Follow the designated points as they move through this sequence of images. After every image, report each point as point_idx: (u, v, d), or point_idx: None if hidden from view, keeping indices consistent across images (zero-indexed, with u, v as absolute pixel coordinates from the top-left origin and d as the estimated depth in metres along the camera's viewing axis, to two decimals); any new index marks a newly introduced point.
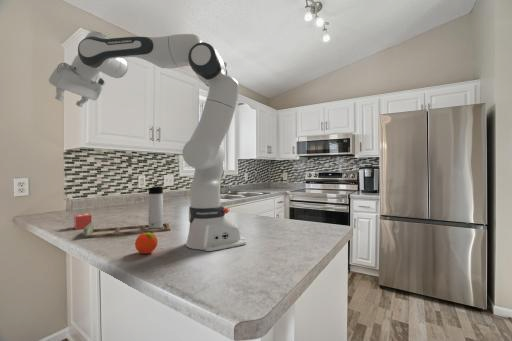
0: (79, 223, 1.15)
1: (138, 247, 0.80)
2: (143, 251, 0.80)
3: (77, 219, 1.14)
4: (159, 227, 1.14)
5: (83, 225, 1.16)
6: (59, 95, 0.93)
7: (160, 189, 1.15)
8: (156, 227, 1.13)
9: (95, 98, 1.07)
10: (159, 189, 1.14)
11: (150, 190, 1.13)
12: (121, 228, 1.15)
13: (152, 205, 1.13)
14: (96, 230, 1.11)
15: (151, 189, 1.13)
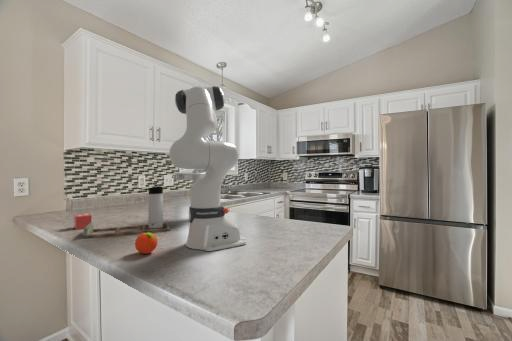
0: (79, 223, 1.15)
1: (138, 247, 0.80)
2: (143, 251, 0.80)
3: (77, 219, 1.14)
4: (159, 227, 1.14)
5: (83, 225, 1.16)
6: None
7: (160, 189, 1.15)
8: (156, 227, 1.13)
9: (198, 173, 1.25)
10: (159, 189, 1.14)
11: (150, 190, 1.13)
12: (121, 228, 1.15)
13: (152, 205, 1.13)
14: (96, 230, 1.11)
15: (151, 189, 1.13)
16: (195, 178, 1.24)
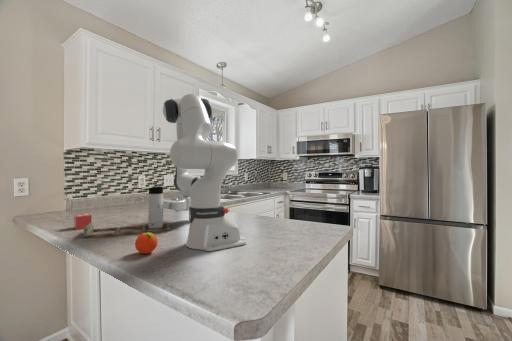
0: (79, 223, 1.15)
1: (138, 247, 0.80)
2: (143, 251, 0.80)
3: (77, 219, 1.14)
4: (159, 227, 1.14)
5: (83, 225, 1.16)
6: None
7: (160, 189, 1.15)
8: (156, 227, 1.13)
9: (176, 201, 1.15)
10: (159, 189, 1.14)
11: (150, 190, 1.13)
12: (121, 228, 1.15)
13: (152, 205, 1.13)
14: (96, 230, 1.11)
15: (151, 189, 1.13)
16: (172, 207, 1.14)
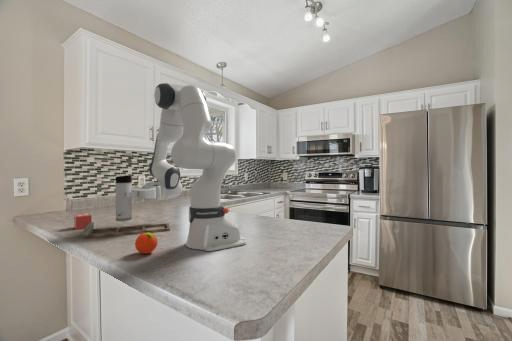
0: (79, 223, 1.15)
1: (138, 247, 0.80)
2: (143, 251, 0.80)
3: (77, 219, 1.14)
4: (127, 218, 1.09)
5: (83, 225, 1.16)
6: None
7: (127, 178, 1.10)
8: (123, 218, 1.08)
9: (143, 190, 1.09)
10: (126, 178, 1.09)
11: (117, 179, 1.08)
12: (121, 228, 1.15)
13: (119, 194, 1.08)
14: (96, 230, 1.11)
15: (118, 178, 1.08)
16: (140, 195, 1.09)
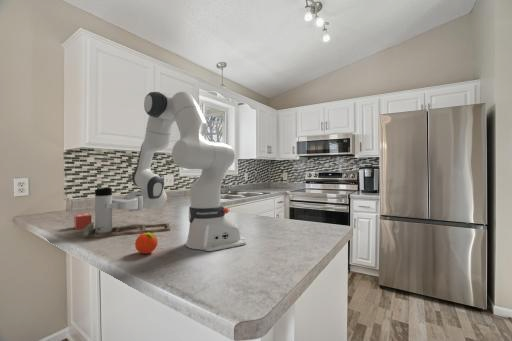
0: (79, 223, 1.15)
1: (138, 247, 0.80)
2: (143, 251, 0.80)
3: (77, 219, 1.14)
4: (106, 231, 1.06)
5: (83, 225, 1.16)
6: None
7: (108, 191, 1.06)
8: (103, 232, 1.05)
9: (124, 201, 1.06)
10: (106, 191, 1.06)
11: (96, 192, 1.05)
12: (121, 228, 1.15)
13: (98, 208, 1.05)
14: None
15: (97, 191, 1.05)
16: (120, 207, 1.06)
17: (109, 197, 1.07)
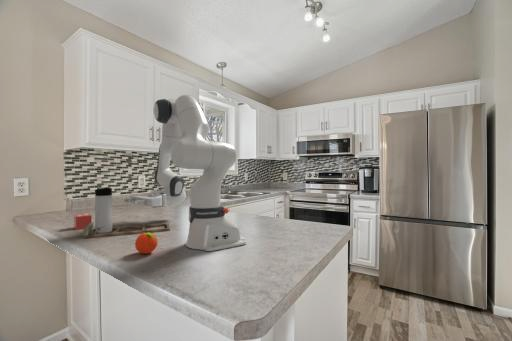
0: (79, 223, 1.15)
1: (138, 247, 0.80)
2: (143, 251, 0.80)
3: (77, 219, 1.14)
4: (106, 231, 1.06)
5: (83, 225, 1.16)
6: None
7: (108, 191, 1.06)
8: (103, 232, 1.05)
9: (150, 198, 1.16)
10: (106, 191, 1.06)
11: (96, 192, 1.05)
12: (121, 228, 1.15)
13: (98, 208, 1.05)
14: None
15: (97, 191, 1.05)
16: (147, 203, 1.15)
17: (109, 197, 1.07)
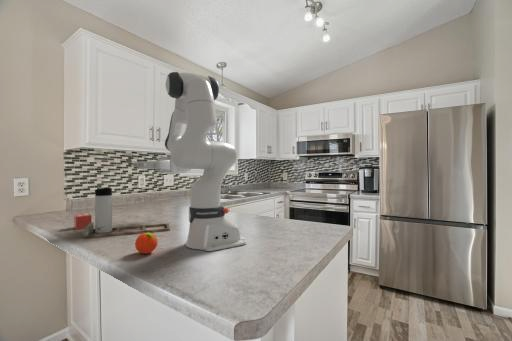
0: (79, 223, 1.15)
1: (138, 247, 0.80)
2: (143, 251, 0.80)
3: (77, 219, 1.14)
4: (106, 231, 1.06)
5: (83, 225, 1.16)
6: None
7: (108, 191, 1.06)
8: (103, 232, 1.05)
9: (159, 161, 1.18)
10: (106, 191, 1.06)
11: (96, 192, 1.05)
12: (121, 228, 1.15)
13: (98, 208, 1.05)
14: None
15: (97, 191, 1.05)
16: (156, 166, 1.17)
17: (109, 197, 1.07)
